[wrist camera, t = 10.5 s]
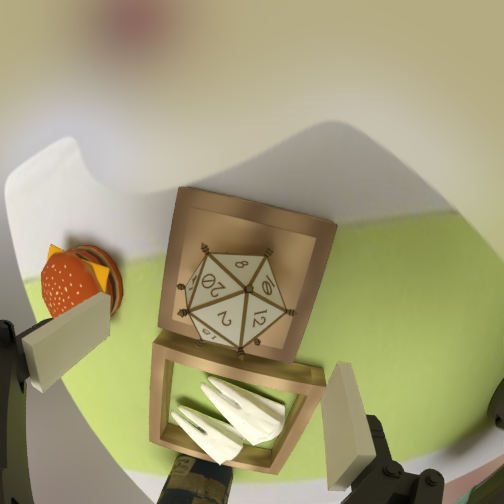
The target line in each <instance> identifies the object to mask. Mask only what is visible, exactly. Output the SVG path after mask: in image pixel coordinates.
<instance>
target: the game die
mask: <svg viewBox="0 0 504 504" xmlns="http://www.w3.org/2000/svg"><path fill="white" fill-rule="evenodd" d="M273 248H274V246H273V247H270V248H267V250H266V252H265V254H264V255H260V254H239V253H228V252H225V253H218V252H209V248H208V246H207V245H206V244H204V243H202V244H201V249H202V252H204V253H205V256H204V258H203V259H202V261H201V262H200V264H199V265H198V267H197V269H196V270H195V272H194V273H193V275H192V276H191V278H190V279H189V281H188V283H187V284H186V286H185V285H184V284H181V283H180V284H178V285H176V287H177V288H178V290H185V299H186V308H187V309H179V312H178V313H177V315H179V316H181V317H182V318H183V316H185V317H186V315H187V314H188V315H189V317H190V319H191V321H192V323H193V325H194V327H195V329H196V331H197V333H198V334H199V336H200V339H199V340H197V342H195V343H196V347H200V346H201V347H202V344H203V341H207V342H210V343H214V344H218V345H222V346H227V347H231V348H235V349H238V352H237V354H238V355H237V357H239V358H240V359H241V360H242V361H243V359H244V357H245V354H244V353H245V352H244V350H243V348H245V347H246V346H247V345H249V344H250V343H252V342H253V341H254V343H255V345H257V346H260V343H261V341H260V339H258V337H259V336H261V335H262V334H263V333H264V332H265V331H266V330H268V329H269V328H270V327H271V326H272V325H273V324H275V323H276V322H277V321H278V320H279V319H280V318H282V317H283V316H284V315H285V314H288V315H289V316H292V317H293V316H295V315H297V314H298V313H297V312H296V311H295V309H294V310H291V309H289V310H288V309H287V308H286V305H285V303H284V300H283V297H282V295H281V292H280V289H279V286H278V284H277V281H276V278H275V275H274V273H273V270H272V267H271V265H270V262H269V259H268V257H269V256H270V255H271V254H272V253H274V252H273Z"/></svg>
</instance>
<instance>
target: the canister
mask: <svg viewBox="0 0 504 504" xmlns="http://www.w3.org/2000/svg"><path fill="white" fill-rule="evenodd" d="M232 480H233V473H232V470H231V469H230V467H229V466H227V465H223V464H221V465H219V464H218V463H215V462H211V461H208V460H204V459H200V458H197V457H193V456H190V455H187V454H182V455H180V456H178V457H177V458H176V460H175V462H174V465H173V467H172V470H171V472H170V474H169V476H168V478H167V480H166V483H165V485H164V487H163V489H162V491H161V494H160V497H159V499H158V502H157V504H227V502H228V498H229V493H230V489H231V484H232Z"/></svg>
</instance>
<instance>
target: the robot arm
mask: <svg viewBox="0 0 504 504" xmlns="http://www.w3.org/2000/svg"><path fill="white" fill-rule="evenodd" d="M110 302H111V296H110V295H107V294H105V293H102V292H99V293H98V294H96V295H94V296H92V297H91V298H89V299H87V300H85V301H84V302H82V303H80V304H78V305H77V306H75V307H73V308H72V309H70V310H68V311H67V312H65V313H63V314H61V315H60V316H58V317H56V318H55V319H54V318H49V319H45V320H43V321H41V322H39V323H37V325H34V326H32V328H29V329H27V330H26V331H24V332H22V333H21V334H19V335H17V336H15V331H14V325H13V324H12V323H11V322H10V321H7V320H0V504H34V501H33V496H32V491H31V485H30V478H29V469H28V458H27V445H26V386H27V384H26V379H27V378H28V377H30V379H31V383H32V386H34V387H35V388H37V389H38V390H39V391H41V392H42V393H43V392H44V391H45V390H47V389H48V388H49V387H50V386H51V385H52V384H53V383H55V382H56V381H57V380H58V379H59V378H60V377H62V376H63V375H64V374H65V373H66V372H67V371H68V370H70V369H71V368H72V367H73V366H74V365H75V364H77V363H78V362H79V361H80V360H81V359H82V358H84V357H85V356H86V355H87V354H88V353H90V352H91V351H92V350H93V349H94V348H95V347H97V346H98V345H99V344H100V343H101V342H103V341H104V340H105V339H106V338H107V337H109V336H110ZM320 400H321V409H322V419H323V430H324V441H325V454H326V467H327V483H328V491H345V490H346V489H347V488H348V487H349V486H350V485H351V489H352V492H351V493H350V494H349V495H348V496H347V497H346V498H345V499H344V500H343V501H342V502H341V504H442V498H443V490H444V478H443V476H442V474H441V473H439V472H438V471H436V470H434V469H426V470H424V471H423V472H422V473H421V474H420V475H416V474H411V473H407V472H404V469H403V468H402V466H401V465H400V464H399V463H398V462H396V461H393V460H392V457H391V454H390V451H389V447H388V444H387V441H386V438H385V434H384V432H383V428H382V425H381V422H380V421H379V420H378V419H377V417H376V416H375V415H366V414H365V410H364V407H363V403H362V400H361V396H360V393H359V389H358V386H357V383H356V379H355V376H354V373H353V370H352V366H351V363H345V362H340V361H338V362H337V364H336V366H335V368H334V371H333V373H332V375H331V377H330V379H329V381H328V384H327V386H326V388H325V390H324V392H323V394H322V396H321V398H320ZM488 417H489V419H490V420H491V421H492V423H493V424H494V425H495V426H496V427H497V428H499V429H501V430H503V431H504V380H503V381H502V382H501V384H500V385H499V387H498V389H497V390H496V392H495V394H494V396H493V398H492V400H491V402H490V405H489V409H488ZM454 504H504V464H502V465H501V466H500V467H499V468H498V469H497V470H496V471H494V472H493V473H492V474H491V475H489V476H488V477H487V478H485V479H484V480H483V481H482V482H480V483H479V484H477V485H475V486H474V487H472V489H471V490H470V491H469V492H467V493H466V494H465V495H463V496H462V497H461V498H459V499H458V500H457V501H456V502H455V503H454Z"/></svg>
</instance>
